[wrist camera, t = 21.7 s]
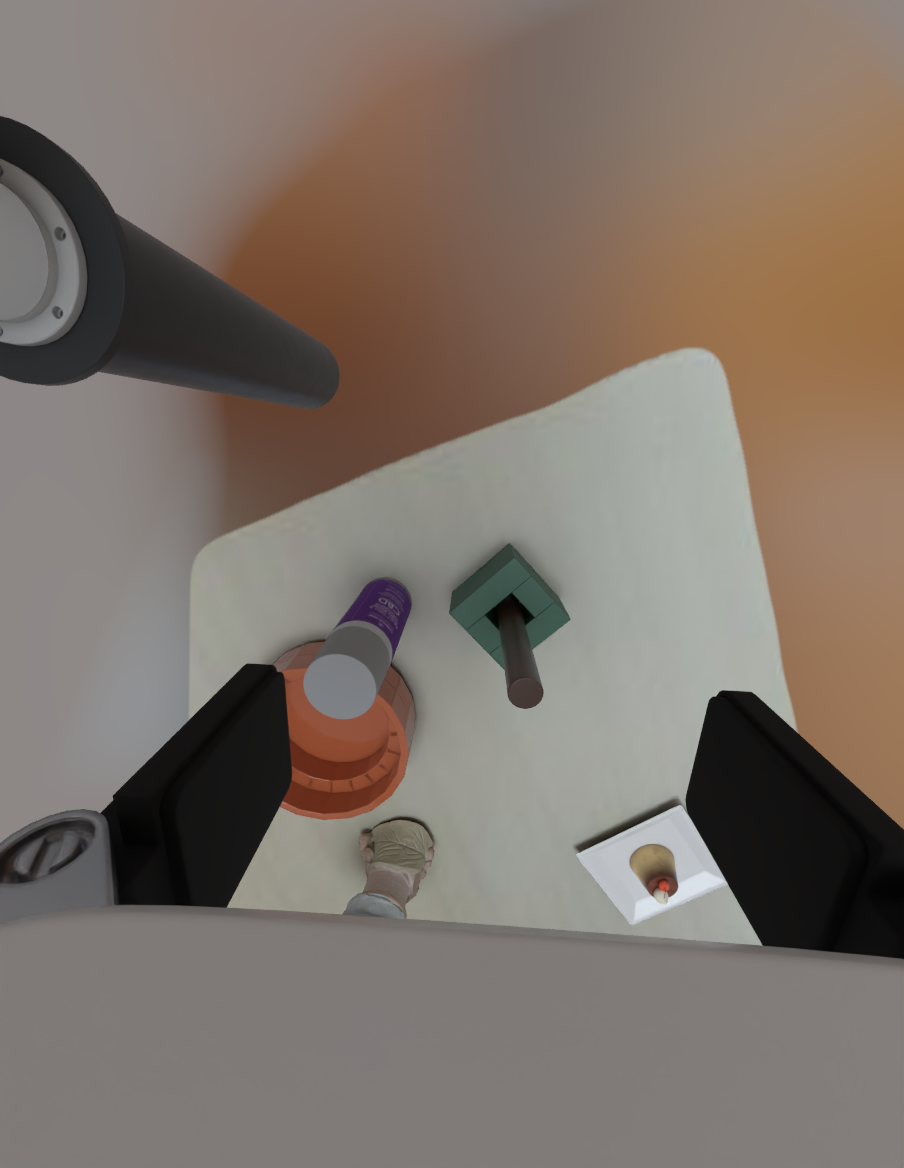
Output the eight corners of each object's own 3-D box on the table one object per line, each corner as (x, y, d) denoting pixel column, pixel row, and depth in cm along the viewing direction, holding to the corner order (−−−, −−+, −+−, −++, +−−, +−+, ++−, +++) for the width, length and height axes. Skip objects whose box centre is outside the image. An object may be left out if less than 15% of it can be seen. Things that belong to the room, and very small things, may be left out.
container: (416, 584, 41) (385, 661, 27) (406, 630, 42) (371, 728, 28) (365, 572, 41) (305, 644, 27) (356, 619, 42) (296, 712, 28)
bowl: (230, 702, 46) (195, 740, 40) (334, 606, 42) (311, 632, 36) (342, 798, 49) (324, 846, 43) (448, 715, 45) (444, 756, 39)
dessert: (676, 796, 47) (697, 835, 42) (728, 872, 49) (754, 916, 45) (573, 845, 49) (583, 887, 45) (628, 915, 52) (643, 962, 47)
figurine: (361, 808, 49) (288, 1044, 30) (439, 821, 49) (416, 1065, 30) (353, 871, 52) (283, 1123, 33) (427, 882, 52) (400, 1142, 33)
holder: (451, 593, 41) (448, 613, 36) (509, 543, 39) (514, 557, 35) (501, 644, 42) (505, 670, 38) (559, 598, 41) (571, 619, 36)
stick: (490, 598, 41) (500, 692, 26) (507, 584, 41) (527, 671, 25) (505, 613, 41) (523, 715, 26) (522, 599, 41) (550, 695, 26)
